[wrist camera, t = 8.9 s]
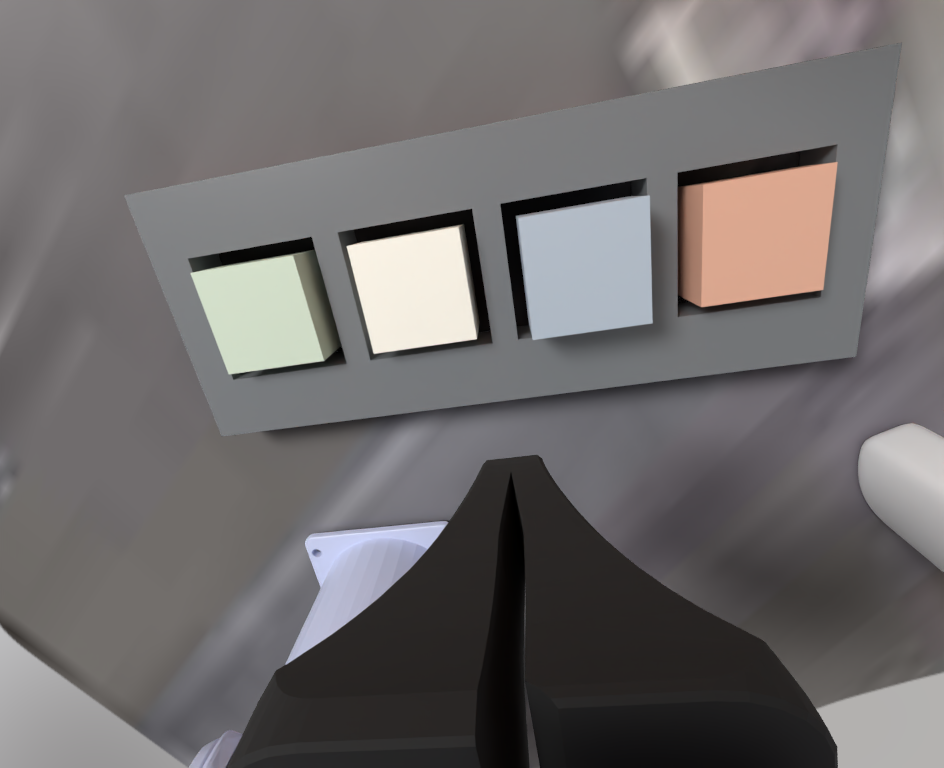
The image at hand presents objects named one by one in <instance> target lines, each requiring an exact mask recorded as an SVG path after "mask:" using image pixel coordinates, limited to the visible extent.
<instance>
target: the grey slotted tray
mask: <svg viewBox="0 0 944 768" xmlns="http://www.w3.org/2000/svg"><path fill="white" fill-rule="evenodd" d="M901 46H902V43H897V44H892V45H887V46H882V47H877V48H872V49H866V50H861V51H856V52H851V53H846V54H841V55H836V56H831V57H826V58H821V59H816V60H811V61H805V62H800V63H795V64H790V65H785V66H780V67H775V68H770V69H765V70H760V71H755V72H750V73H744V74H739V75H734V76H729V77H724V78H719V79H714V80H709V81H704V82H699V83H694V84H689V85H683V86H678V87H673V88H668V89H663V90H658V91H653V92H648V93H643V94H638V95H633V96H628V97H622V98H617V99H612V100H607V101H602V102H597V103H592V104H587V105H582V106H577V107H572V108H567V109H561V110H556V111H551V112H546V113H541V114H536V115H531V116H526V117H521V118H516V119H511V120H505V121H500V122H495V123H490V124H485V125H480V126H475V127H470V128H465V129H460V130H455V131H450V132H444V133H439V134H434V135H429V136H424V137H419V138H414V139H409V140H404V141H399V142H394V143H389V144H383V145H378V146H373V147H368V148H363V149H358V150H353V151H348V152H343V153H338V154H333V155H328V156H322V157H317V158H312V159H307V160H302V161H297V162H292V163H287V164H282V165H277V166H272V167H267V168H261V169H256V170H251V171H246V172H241V173H236V174H231V175H226V176H221V177H216V178H211V179H206V180H200V181H195V182H190V183H185V184H180V185H175V186H170V187H165V188H160V189H155V190H150V191H145V192H139V193H134V194H129V195H124V197H125V199H126V202H127V204H128V207H129V209H130V212H131V214H132V217H133V219H134V222H135V224H136V227H137V229H138V231H139V234H140V236H141V239H142V241H143V244H144V246H145V249H146V251H147V254H148V256H149V259H150V261H151V263H152V266H153V268H154V271H155V273H156V276H157V278H158V281H159V283H160V286H161V288H162V291H163V293H164V295H165V298H166V300H167V303H168V305H169V308H170V310H171V313H172V315H173V318H174V320H175V323H176V325H177V327H178V330H179V332H180V335H181V337H182V340H183V342H184V345H185V347H186V350H187V352H188V355H189V357H190V359H191V362H192V364H193V367H194V369H195V372H196V374H197V377H198V379H199V382H200V384H201V387H202V389H203V391H204V394H205V396H206V399H207V401H208V404H209V406H210V409H211V411H212V414H213V416H214V419H215V421H216V423H217V426H218V428H219V431H220V433H221V436H229V435H237V434H245V433H253V432H261V431H268V430H276V429H284V428H292V427H300V426H308V425H316V424H324V423H332V422H340V421H348V420H356V419H364V418H372V417H380V416H388V415H396V414H404V413H412V412H420V411H428V410H436V409H444V408H451V407H459V406H467V405H475V404H483V403H491V402H499V401H507V400H515V399H523V398H531V397H539V396H547V395H555V394H563V393H571V392H579V391H587V390H595V389H603V388H611V387H619V386H626V385H634V384H642V383H650V382H658V381H666V380H674V379H682V378H690V377H698V376H706V375H714V374H722V373H730V372H738V371H746V370H754V369H762V368H770V367H778V366H786V365H794V364H802V363H809V362H817V361H825V360H833V359H841V358H849V357H856V353H857V346H858V340H859V333H860V326H861V319H862V312H863V306H864V299H865V292H866V285H867V278H868V271H869V265H870V258H871V251H872V244H873V237H874V230H875V224H876V217H877V210H878V203H879V196H880V189H881V183H882V176H883V169H884V162H885V155H886V148H887V142H888V135H889V128H890V121H891V114H892V108H893V101H894V94H895V87H896V80H897V73H898V67H899V60H900V53H901ZM797 151H800V158H799V167H800V166H808V165H816V164H824V163H833V162H838V164H837V173H836V182H835V191H834V199H833V208H832V217H831V226H830V235H829V244H828V253H827V261H826V270H825V279H824V288H823V290H819V291H812V292H805V293H798V294H791V295H784V296H777V297H770V298H763V299H756V300H749V301H742V302H735V303H728V304H721V305H714V306H707V307H700V306H698V305H696V304H694V303H692V302H686V303H679V304H678V229H677V173H678V172H683V171H689V170H695V169H700V168H706V167H712V166H718V165H723V164H729V163H735V162H740V161H746V160H752V159H757V158H763V157H769V156H774V155H780V154H786V153H791V152H797ZM627 181H631V192H632V196H648V195H650V227H651V274H652V320H653V323H651V324H644V325H637V326H630V327H623V328H616V329H608V330H601V331H594V332H587V333H580V334H573V335H566V336H559V337H551V338H544V339H537V340H533V339H532V335H531V330H530V326H529V325H526V326H519V327H516V319H515V312H514V304H513V297H512V289H511V282H510V274H509V266H508V259H507V251H506V244H505V236H504V228H503V221H502V213H501V206H500V204H501V203H507V202H513V201H518V200H524V199H530V198H536V197H541V196H547V195H553V194H558V193H564V192H570V191H575V190H581V189H587V188H592V187H598V186H604V185H609V184H615V183H621V182H627ZM467 209H472V212H473V218H474V225H475V231H476V238H477V244H478V251H479V257H480V264H481V270H482V277H483V283H484V290H485V297H486V303H487V310H488V316H489V323H490V329H491V331H485V332H478V336H477V339H475V340H468V341H461V342H454V343H447V344H439V345H432V346H425V347H418V348H411V349H404V350H397V351H390V352H383V353H376V354H374V353H373V349H372V345H371V341H370V337H369V333H368V329H367V325H366V321H365V317H364V313H363V309H362V305H361V301H360V297H359V293H358V290H357V286H356V282H355V278H354V274H353V270H352V266H351V262H350V258H349V254H348V250H347V246H349V245H353V244H356V243H357V240H356V236H355V232H354V229H359V228H365V227H371V226H376V225H382V224H388V223H393V222H399V221H405V220H410V219H416V218H422V217H427V216H433V215H439V214H445V213H450V212H456V211H462V210H467ZM308 237H312V240H313V244H314V247H315V251H316V254H317V258H318V262H319V265H320V269H321V272H322V276H323V280H324V283H325V287H326V290H327V294H328V298H329V301H330V305H331V308H332V312H333V316H334V319H335V323H336V326H337V330H338V334H339V337H340V341H341V344H342V348H343V352H339V353H332V354H331V355H330V356H329V357H328V358H327V359H326V360H325V361H320V362H313V363H306V364H299V365H292V366H285V367H278V368H271V369H264V370H257V371H250V372H243V373H236V374H228V371H227V369H226V366H225V363H224V361H223V358H222V355H221V353H220V350H219V348H218V345H217V342H216V340H215V337H214V334H213V332H212V329H211V326H210V324H209V321H208V319H207V316H206V313H205V311H204V308H203V305H202V303H201V300H200V297H199V295H198V292H197V290H196V287H195V284H194V282H193V279H192V276H191V274H190V273H193V272H197V271H202V270H206V269H211V268H215V267H219V266H222V263H221V260H220V258H219V255H218V253H223V252H228V251H234V250H240V249H245V248H251V247H257V246H263V245H268V244H274V243H280V242H285V241H291V240H297V239H302V238H308Z"/></svg>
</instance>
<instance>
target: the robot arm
mask: <svg viewBox="0 0 944 768" xmlns="http://www.w3.org/2000/svg"><path fill="white" fill-rule="evenodd" d="M305 546H306V549H307V551H308V554H309V557H310V560H311V562H312V565H313V568H314V570H315V573H316V576H317V579H318V581H319V584H320V587H321V589H320V591H319V594H318V596H317V598H316V600H315V602H314V604H313V606H312V608H311V611H310V613H309V615H308V617H307V619H306V621H305V623H304V626H303V628H302V630H301V632H300V634H299V636H298V638H297V641H296V643H295V645H294V647H293V649H292V651H291V653H290V655H289V658H288V660H287V662H286V664H285V666H283V667H281V668H280V669H278V670H276V672H275V673H274V675H273V677H272V679H271V681H270V682H269V684H268V686H267V688H266V689H265V691H264V693H263V695H262V696H261V698H260V700H259V702H258V704H257V706H256V708H255V710H254V712H253V714H252V716H251V718H250V720H249V722H248V725H247V727H246V729H245V731H244V733H243V734H242V733H239V732H236V731H233V730H228V731H226V732H225V733H224V734H223V735H222V736H221V738H218V739H215V740H214V741H212V742H210V743H208V744H207V745H205V746H204V747H203V748H202V749H201V750H200V751H199V753H198V754H197V755H196V757H195V758H194V760H193V761H192V763H191V765H190V766H189V768H529V753H528V739H527V724H526V708H525V693H524V673H523V646H524V607H525V589H526V666H525V682H526V688H527V694H528V700H529V705H530V711H531V717H532V723H533V728H534V734H535V740H536V746H537V751H538V757H539V763H540V768H838V765H837V764H838V763H837V762H838V761H837V746H836V744H835V742H834V740H833V738H832V736H831V734H830V732H829V730H828V728H827V727H826V725H825V723H824V722H823V720H822V718H821V717H820V715H819V713H818V712H817V710H816V708H815V707H814V705H813V704H812V702H811V701H810V699H809V698H808V696H807V695H806V694H805V692H804V691H803V690H802V688H801V687H800V686H799V684H798V683H797V682H796V681H795V679H794V678H793V677H792V675H791V674H790V673H789V671H788V670H787V669H786V668H785V666H784V665H783V664H782V663H781V661H780V660H779V659H778V658H777V656H776V655H775V654H774V652H773V651H772V650H771V649H770V648H769V646H768V645H767V644H766V643H765V642H764V641H763V640H761V639H759V638H757V637H755V636H753V635H751V634H749V633H747V632H746V631H744V630H742V629H740V628H738V627H736V626H734V625H732V624H730V623H728V622H726V621H724V620H722V619H720V618H718V617H717V616H715V615H713V614H711V613H709V612H707V611H705V610H703V609H701V608H700V607H698V606H696V605H695V604H693V603H691V602H690V601H688V600H686V599H685V598H683V597H681V596H680V595H678V594H677V593H675V592H673V591H672V590H670V589H669V588H667V587H666V586H664V585H663V584H661V583H660V582H659V581H657V580H656V579H654V578H653V577H652V576H650V575H649V574H647V573H646V572H644V571H643V570H642V569H640V568H639V567H637V566H636V565H635V564H634V563H632V562H631V561H630V560H629V559H628V558H626V557H625V556H624V555H623V554H621V553H620V552H619V551H618V550H617V549H616V548H614V547H613V546H612V545H611V544H610V543H609V542H608V541H607V540H605V539H604V538H603V537H602V536H601V535H600V534H599V533H598V532H597V531H596V530H595V529H594V528H593V527H592V526H591V525H590V524H589V523H588V522H587V521H586V519H585V518H584V517H583V516H582V515H581V514H580V513H579V512H578V511H577V510H576V508H575V507H574V506H573V505H572V504H571V502H570V501H569V500H568V499H567V497H566V496H565V495H564V494H563V492H562V491H561V490H560V488H559V487H558V486H557V484H556V483H555V481H554V480H553V478H552V477H551V475H550V474H549V472H548V470H547V468H546V467H545V465H544V462H543V460H542V458H541V457H539V456H538V455H531V456H522V457H513V458H504V459H495V460H487V461H486V462H485V463H484V464H483V466H482V468H481V470H480V472H479V474H478V476H477V478H476V480H475V481H474V483H473V485H472V487H471V488H470V490H469V492H468V494H467V495H466V497H465V498H464V500H463V501H462V503H461V505H460V506H459V508H458V509H457V511H456V512H455V514H454V515H453V517H452V518H451V519H450V521H449V522H447V521H439V522H429V523H418V524H408V525H397V526H387V527H377V528H366V529H356V530H346V531H335V532H325V533H315V534H311V535H309V536H308V538H307V540H306V542H305ZM316 549H318V550H320V551H321V552H318V551H317V550H316Z"/></svg>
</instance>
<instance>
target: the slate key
mask: <svg viewBox="0 0 944 768" xmlns="http://www.w3.org/2000/svg"><path fill="white" fill-rule="evenodd" d="M516 222H517V231H518V239H519V247H520V255H521V263H522V272H523V280H524V288H525V296H526V305H527V313H528V321H529V326H530V330H531V335H532V339H533V340H537V339H544V338H551V337H559V336H566V335H573V334H580V333H587V332H594V331H601V330H608V329H616V328H623V327H630V326H637V325H644V324H651V323H653V320H652V274H651V227H650V195H648V196H629V197H623V198H617V199H611V200H605V201H599V202H594V203H588V204H582V205H576V206H570V207H565V208H559V209H553V210H547V211H541V212H536V213H530V214H524V215H518V216H516Z"/></svg>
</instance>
